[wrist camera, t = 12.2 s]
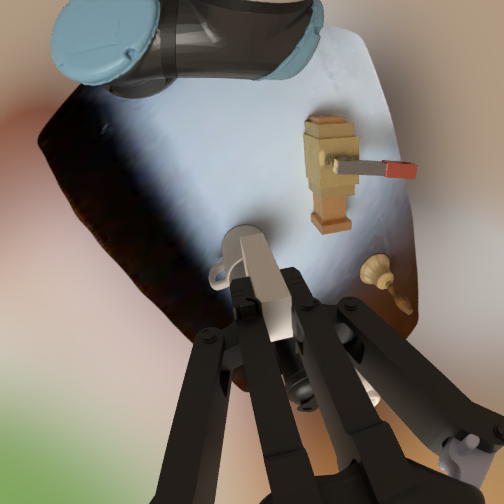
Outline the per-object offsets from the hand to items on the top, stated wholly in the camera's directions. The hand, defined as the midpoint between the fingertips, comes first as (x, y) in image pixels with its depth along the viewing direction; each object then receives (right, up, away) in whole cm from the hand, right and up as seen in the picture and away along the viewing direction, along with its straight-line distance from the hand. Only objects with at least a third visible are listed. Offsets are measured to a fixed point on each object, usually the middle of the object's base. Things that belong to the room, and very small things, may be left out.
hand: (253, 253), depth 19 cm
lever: (+19, +15, +25) cm, 35 cm away
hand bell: (+29, -4, +46) cm, 54 cm away
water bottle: (+8, -16, +49) cm, 52 cm away
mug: (-3, +1, +37) cm, 37 cm away
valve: (+13, +15, +32) cm, 37 cm away
